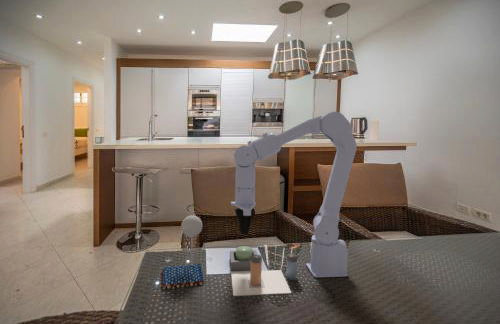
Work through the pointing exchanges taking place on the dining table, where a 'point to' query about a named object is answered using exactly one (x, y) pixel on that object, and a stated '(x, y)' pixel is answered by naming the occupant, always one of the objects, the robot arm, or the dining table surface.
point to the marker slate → (291, 266)
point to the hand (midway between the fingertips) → (244, 233)
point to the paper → (269, 283)
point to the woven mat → (182, 276)
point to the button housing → (240, 262)
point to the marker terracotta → (255, 270)
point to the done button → (243, 253)
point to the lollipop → (191, 229)
